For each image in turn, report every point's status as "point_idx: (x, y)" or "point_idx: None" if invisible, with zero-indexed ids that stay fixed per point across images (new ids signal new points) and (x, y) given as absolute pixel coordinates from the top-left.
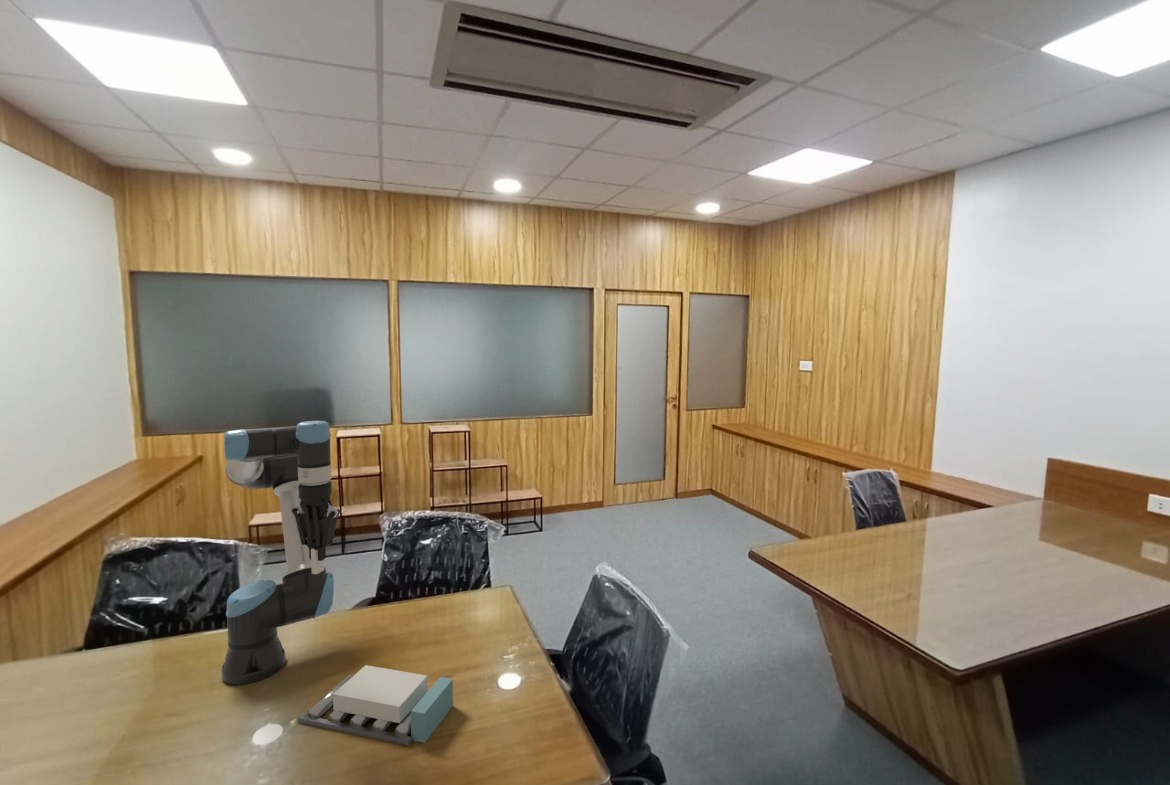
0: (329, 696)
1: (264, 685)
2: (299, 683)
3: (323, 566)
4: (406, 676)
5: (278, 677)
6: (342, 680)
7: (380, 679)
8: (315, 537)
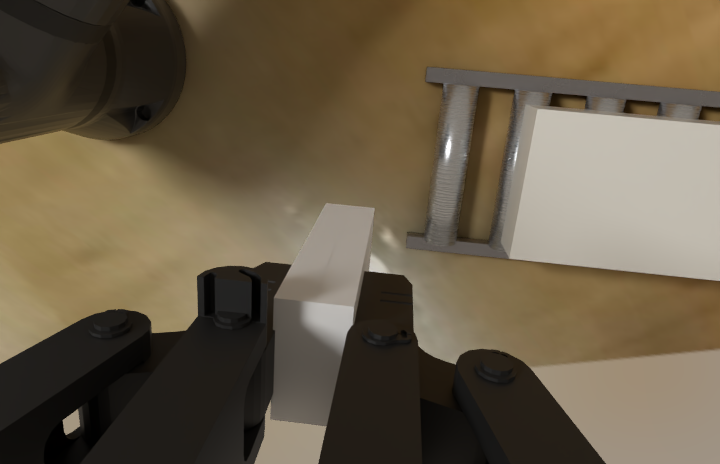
0: (454, 191)
1: (204, 123)
2: (294, 97)
3: (371, 226)
4: (713, 147)
5: (212, 82)
6: (426, 81)
7: (626, 174)
8: (233, 438)
